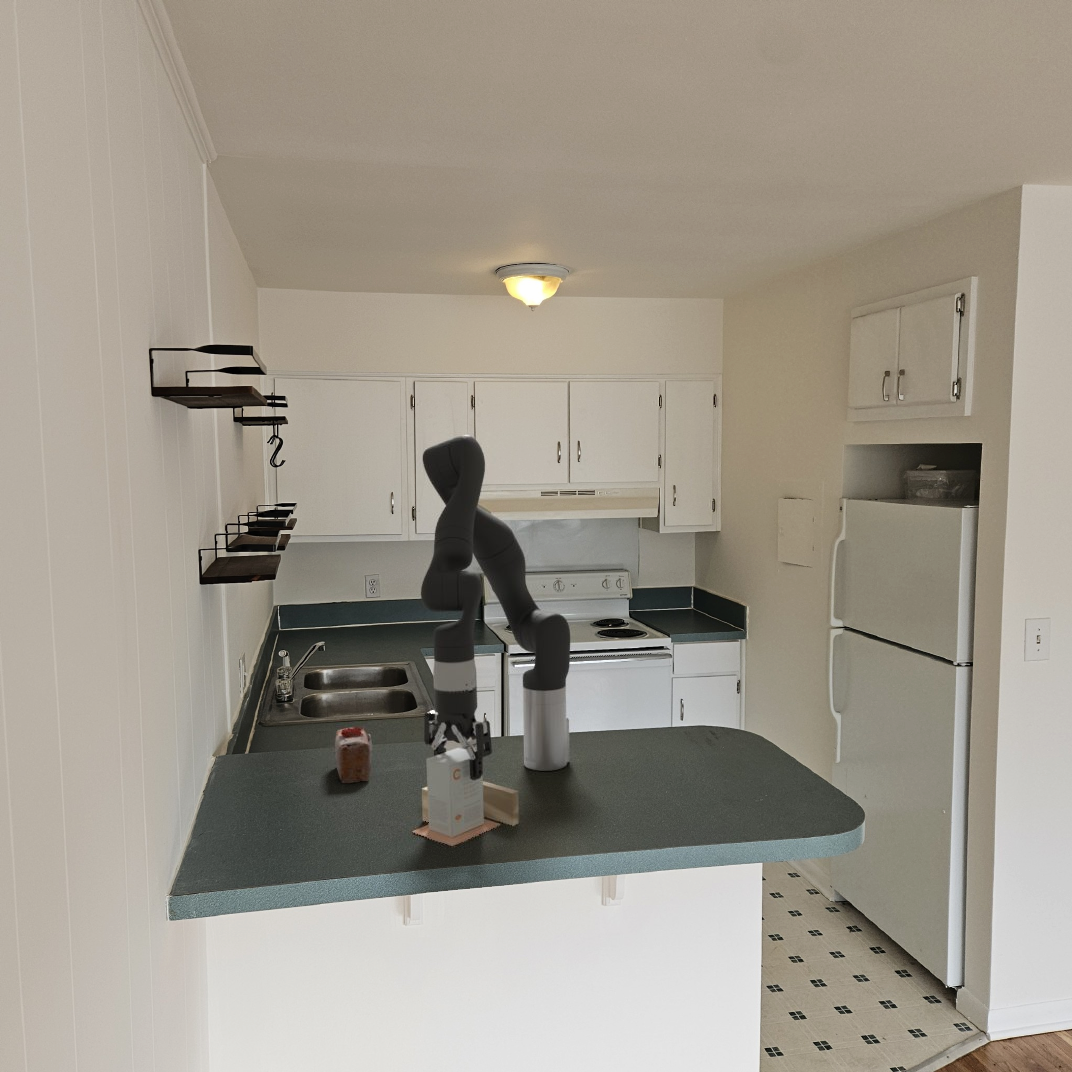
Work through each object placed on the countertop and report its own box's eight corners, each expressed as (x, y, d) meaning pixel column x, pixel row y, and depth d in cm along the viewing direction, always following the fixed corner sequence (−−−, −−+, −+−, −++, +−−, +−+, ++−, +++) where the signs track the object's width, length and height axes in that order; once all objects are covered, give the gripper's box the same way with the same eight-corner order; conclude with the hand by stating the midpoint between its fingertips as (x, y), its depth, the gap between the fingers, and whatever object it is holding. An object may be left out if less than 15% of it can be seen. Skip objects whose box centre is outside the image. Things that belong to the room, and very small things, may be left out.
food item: (333, 765, 202) (331, 720, 202) (370, 761, 205) (368, 717, 204) (337, 785, 189) (336, 738, 189) (377, 781, 192) (375, 734, 191)
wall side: (457, 806, 177) (456, 775, 176) (463, 808, 176) (462, 777, 175) (422, 820, 170) (421, 788, 169) (428, 822, 169) (427, 790, 168)
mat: (460, 812, 173) (460, 811, 173) (500, 825, 167) (500, 823, 167) (412, 832, 164) (412, 831, 164) (452, 847, 158) (452, 845, 158)
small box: (460, 816, 171) (458, 746, 170) (484, 824, 167) (483, 753, 166) (427, 829, 165) (425, 757, 164) (451, 838, 161) (450, 765, 160)
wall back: (463, 806, 177) (462, 775, 176) (518, 823, 168) (518, 791, 167) (457, 808, 176) (456, 777, 175) (513, 826, 167) (512, 793, 166)
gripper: (411, 683, 165) (415, 772, 166) (470, 694, 156) (473, 788, 157) (441, 674, 171) (444, 760, 172) (499, 685, 162) (502, 776, 163)
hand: (458, 774), depth 165 cm, fingers open, 8 cm apart
